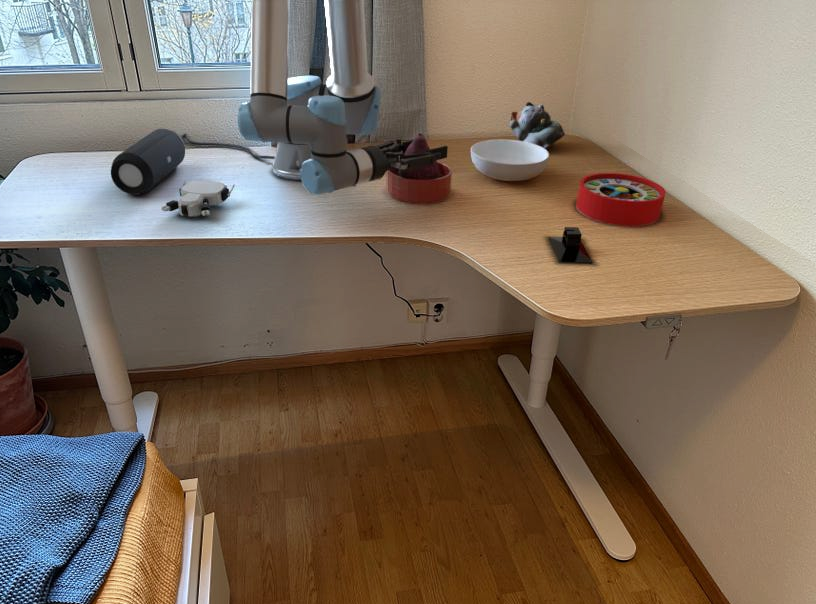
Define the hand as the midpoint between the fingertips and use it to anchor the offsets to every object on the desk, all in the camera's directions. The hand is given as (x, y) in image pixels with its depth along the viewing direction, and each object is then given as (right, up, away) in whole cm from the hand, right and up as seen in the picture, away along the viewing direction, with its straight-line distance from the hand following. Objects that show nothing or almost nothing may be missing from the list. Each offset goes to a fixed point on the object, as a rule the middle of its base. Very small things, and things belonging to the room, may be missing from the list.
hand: (433, 147), depth 162 cm
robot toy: (-54, -18, -11) cm, 58 cm away
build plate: (+28, -29, -22) cm, 46 cm away
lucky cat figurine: (+32, +13, +40) cm, 53 cm away
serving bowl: (+20, -3, +16) cm, 26 cm away
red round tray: (-4, -10, +3) cm, 12 cm away
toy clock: (+45, -16, -1) cm, 48 cm away
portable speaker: (-71, -7, +4) cm, 71 cm away
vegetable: (-4, -9, +2) cm, 10 cm away
